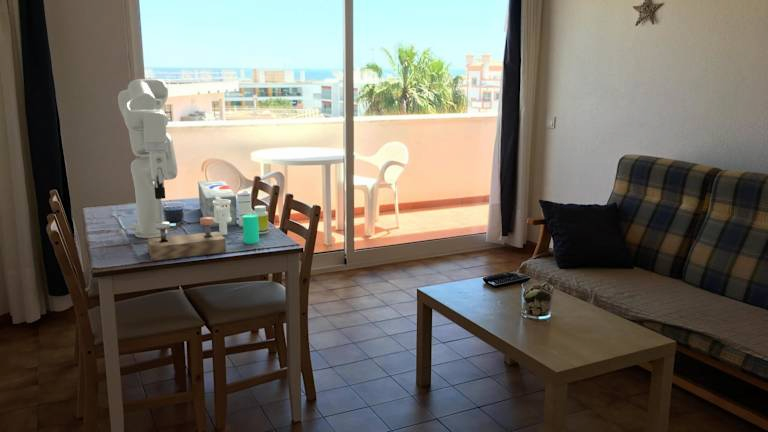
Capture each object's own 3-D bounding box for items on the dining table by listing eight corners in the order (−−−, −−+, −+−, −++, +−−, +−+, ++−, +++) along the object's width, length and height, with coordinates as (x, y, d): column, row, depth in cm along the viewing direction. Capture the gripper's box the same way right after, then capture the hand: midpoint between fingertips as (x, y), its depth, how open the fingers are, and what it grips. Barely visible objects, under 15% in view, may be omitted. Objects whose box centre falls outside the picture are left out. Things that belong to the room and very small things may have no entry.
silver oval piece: (157, 244, 230) (155, 224, 229) (155, 240, 235) (154, 221, 233) (171, 242, 232) (170, 223, 231) (169, 239, 237) (168, 220, 235)
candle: (255, 244, 249) (254, 213, 246) (241, 243, 250) (239, 213, 247) (261, 240, 254) (260, 210, 252) (247, 239, 256) (245, 209, 253)
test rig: (152, 260, 227) (151, 247, 226) (148, 252, 238) (147, 238, 237) (225, 251, 238) (225, 238, 237) (219, 243, 249) (218, 231, 248)
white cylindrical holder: (225, 231, 268) (223, 195, 265) (235, 233, 264) (234, 198, 260) (211, 234, 263) (209, 198, 259) (221, 237, 258) (219, 200, 255)
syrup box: (252, 225, 277) (251, 192, 274) (238, 226, 276) (237, 193, 272) (252, 222, 282) (251, 190, 279) (238, 223, 281) (237, 191, 278)
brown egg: (202, 239, 237) (201, 220, 235) (200, 236, 241) (198, 217, 240) (216, 237, 239) (215, 219, 237) (213, 234, 243) (212, 216, 242)
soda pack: (199, 208, 311) (197, 180, 307) (226, 206, 315) (224, 179, 312) (207, 228, 274) (205, 196, 270) (237, 225, 278) (236, 194, 275)
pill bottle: (271, 231, 267) (270, 205, 265) (263, 235, 262) (261, 208, 259) (259, 230, 270) (258, 204, 267) (250, 233, 264) (249, 207, 262)
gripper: (170, 149, 220) (174, 201, 225) (164, 144, 234) (168, 193, 238) (147, 150, 217) (151, 203, 221) (142, 145, 231) (146, 195, 235)
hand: (160, 198), depth 230 cm, fingers closed
